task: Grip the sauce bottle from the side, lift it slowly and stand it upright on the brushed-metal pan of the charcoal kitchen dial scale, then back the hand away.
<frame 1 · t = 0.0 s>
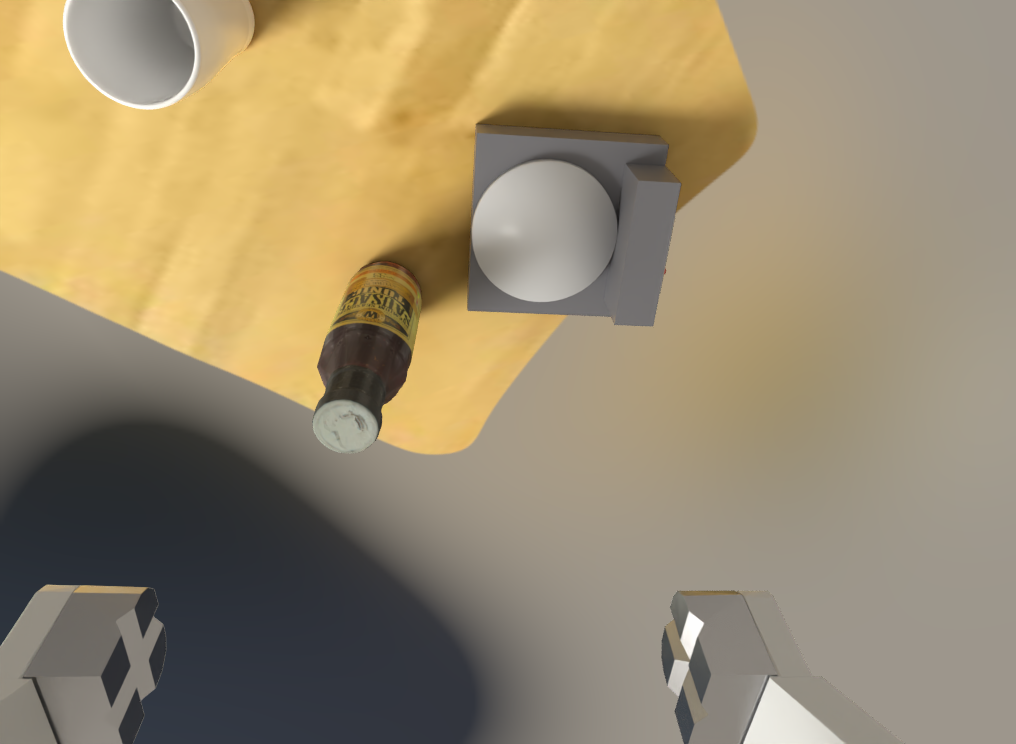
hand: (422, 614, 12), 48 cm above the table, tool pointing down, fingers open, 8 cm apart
drinking glass: (217, 15, 50), on the table
sauce bottle: (383, 290, 61), on the table
kitchen scale: (558, 219, 58), on the table
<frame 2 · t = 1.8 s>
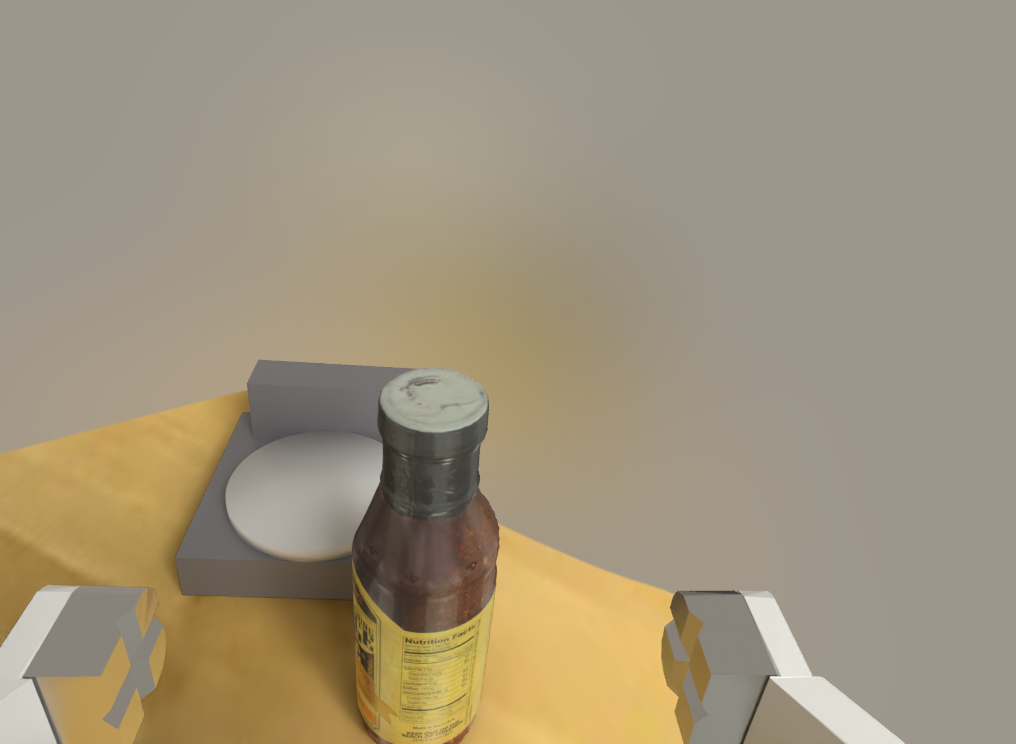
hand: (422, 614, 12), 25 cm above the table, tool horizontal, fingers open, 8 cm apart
sauce bottle: (418, 714, 37), on the table
kitchen scale: (326, 515, 48), on the table
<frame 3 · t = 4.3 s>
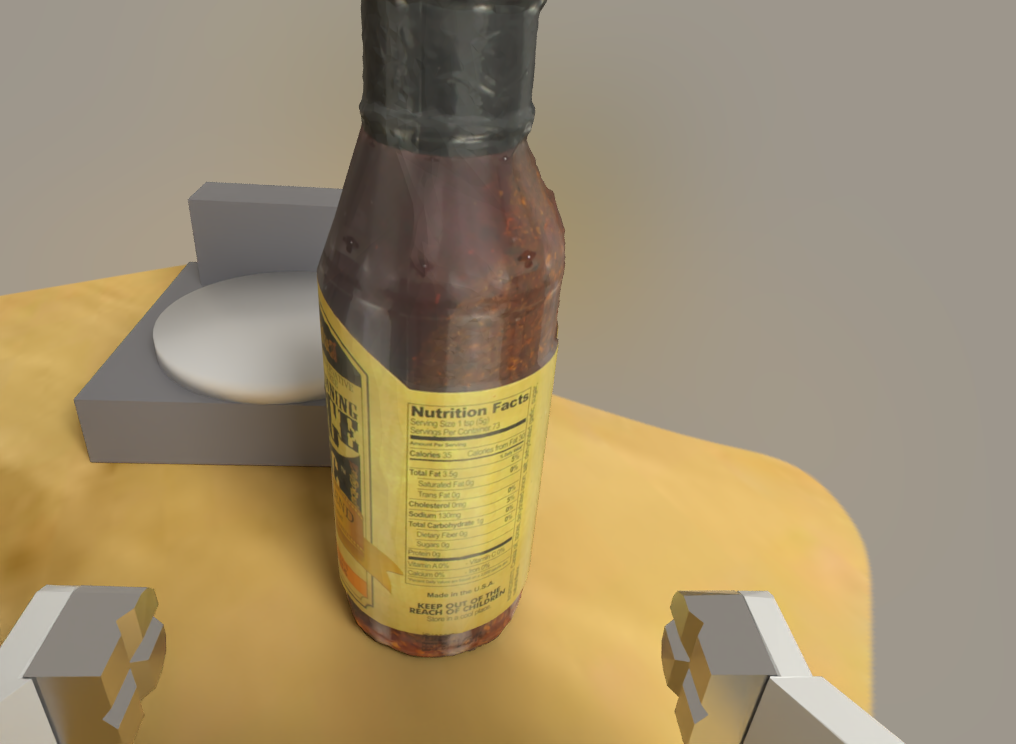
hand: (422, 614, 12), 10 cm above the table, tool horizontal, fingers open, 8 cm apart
sauce bottle: (434, 601, 25), on the table
kitchen scale: (299, 378, 36), on the table
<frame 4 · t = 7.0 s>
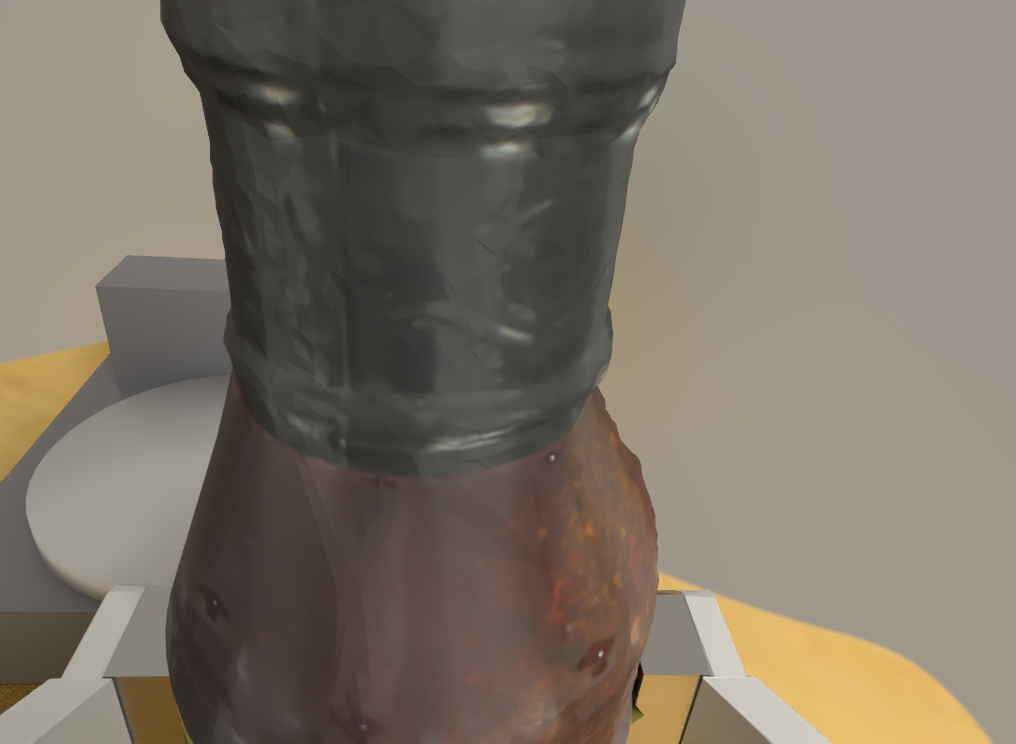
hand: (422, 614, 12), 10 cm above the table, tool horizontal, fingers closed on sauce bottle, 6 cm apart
kitchen scale: (245, 519, 27), on the table
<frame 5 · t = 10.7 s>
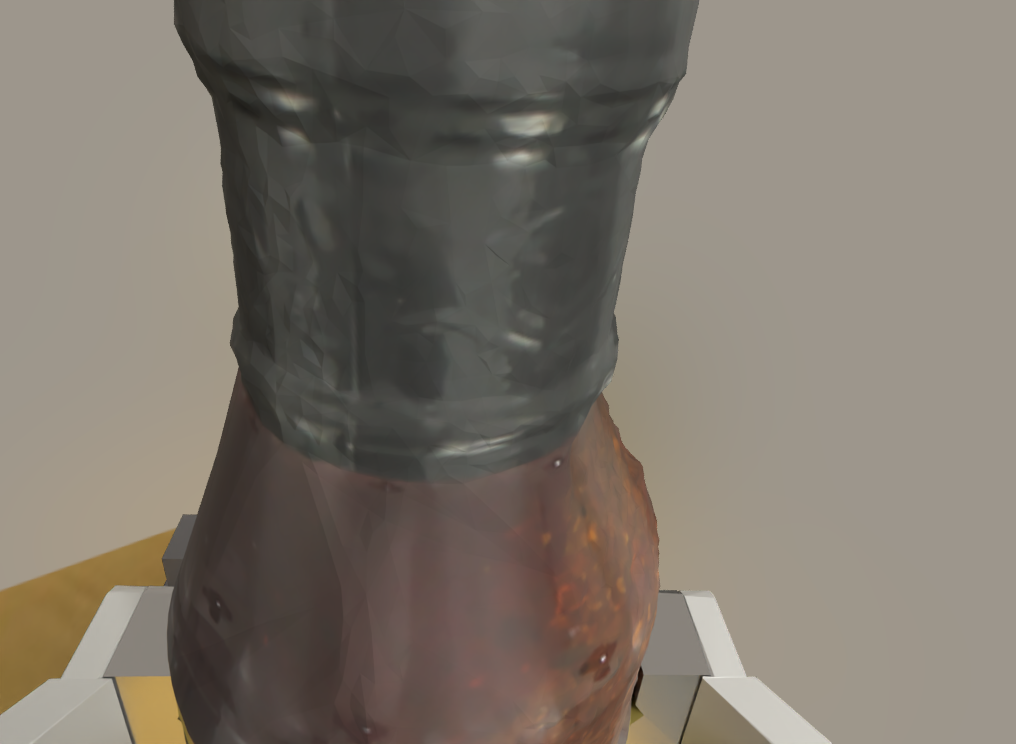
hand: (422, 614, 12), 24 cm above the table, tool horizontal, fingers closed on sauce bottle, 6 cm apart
kitchen scale: (280, 737, 34), on the table
when the fingers open (15 cm above the table, at t = 14.7 s): sauce bottle drops 1 cm, resting on kitchen scale.
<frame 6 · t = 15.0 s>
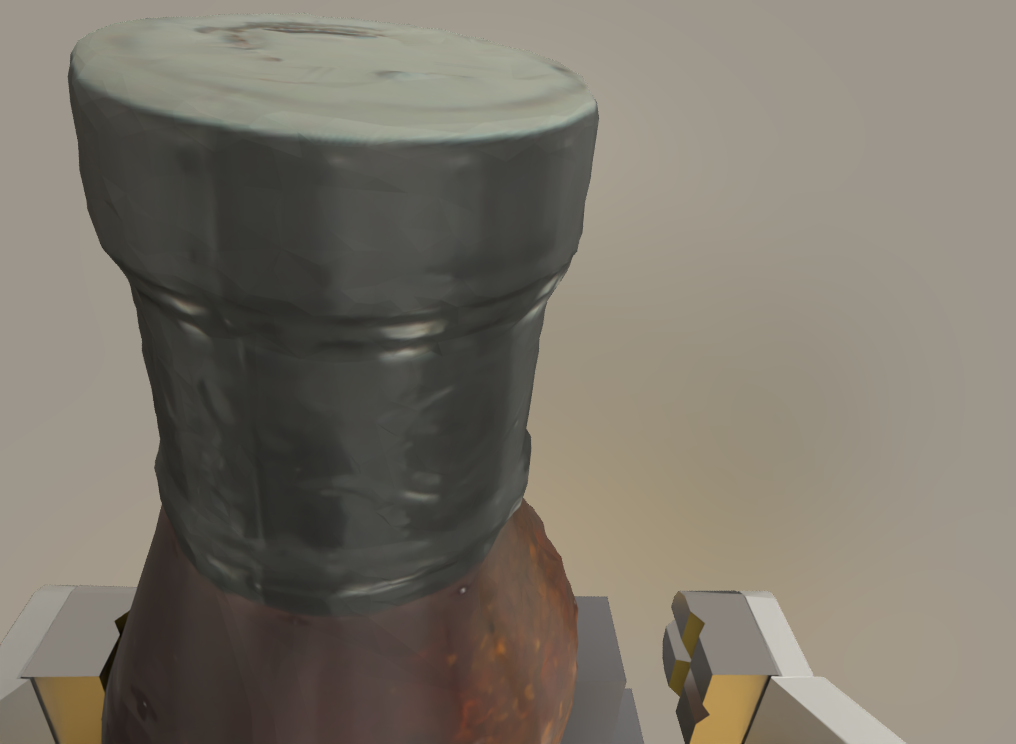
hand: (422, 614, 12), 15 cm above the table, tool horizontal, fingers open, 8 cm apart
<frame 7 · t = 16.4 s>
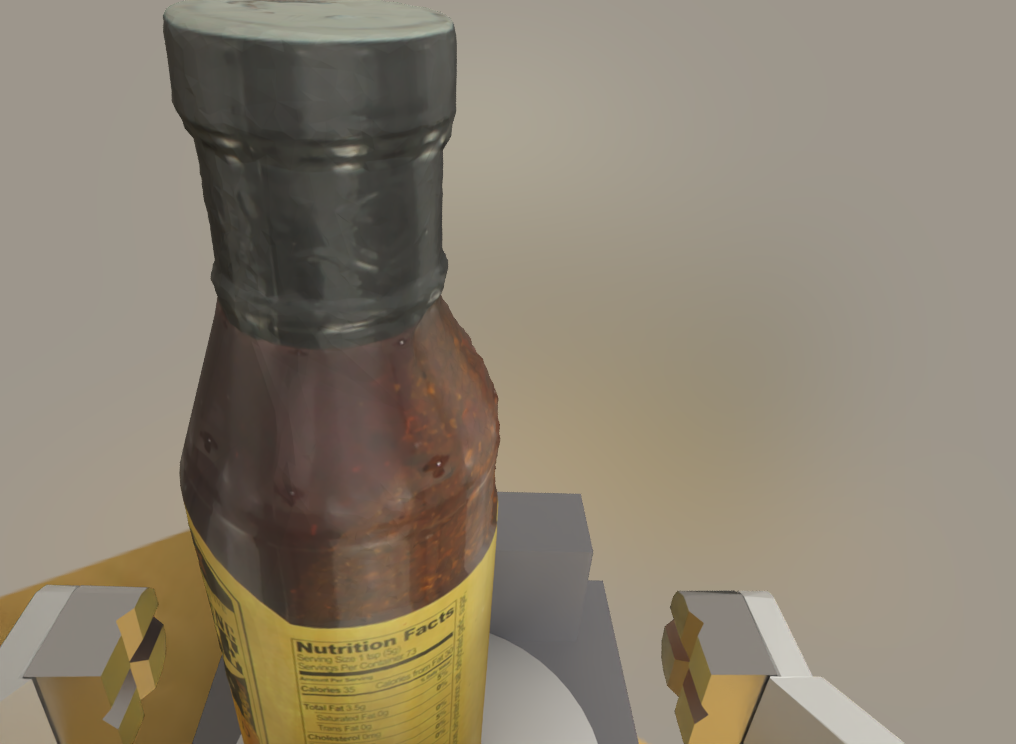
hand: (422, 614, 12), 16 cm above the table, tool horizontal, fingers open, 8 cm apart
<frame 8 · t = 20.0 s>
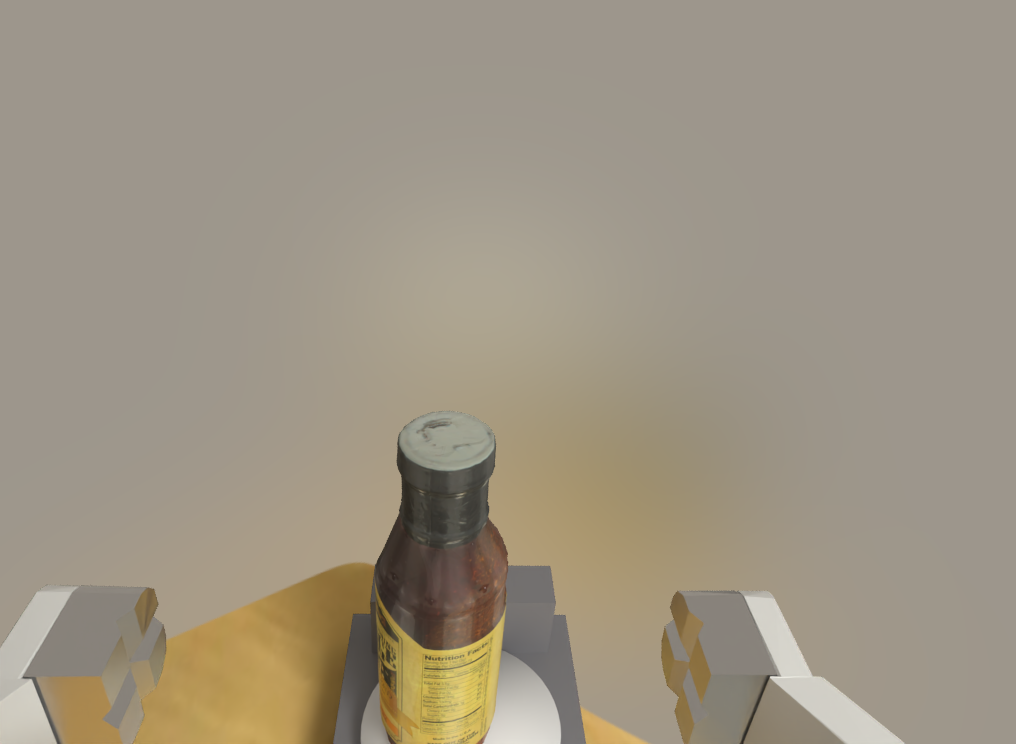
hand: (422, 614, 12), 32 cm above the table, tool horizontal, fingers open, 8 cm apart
sauce bottle: (437, 727, 40), point 4 cm above the table, touching kitchen scale
kitchen scale: (458, 742, 43), on the table
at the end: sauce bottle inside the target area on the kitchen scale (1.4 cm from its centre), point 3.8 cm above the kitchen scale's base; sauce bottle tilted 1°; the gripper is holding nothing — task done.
